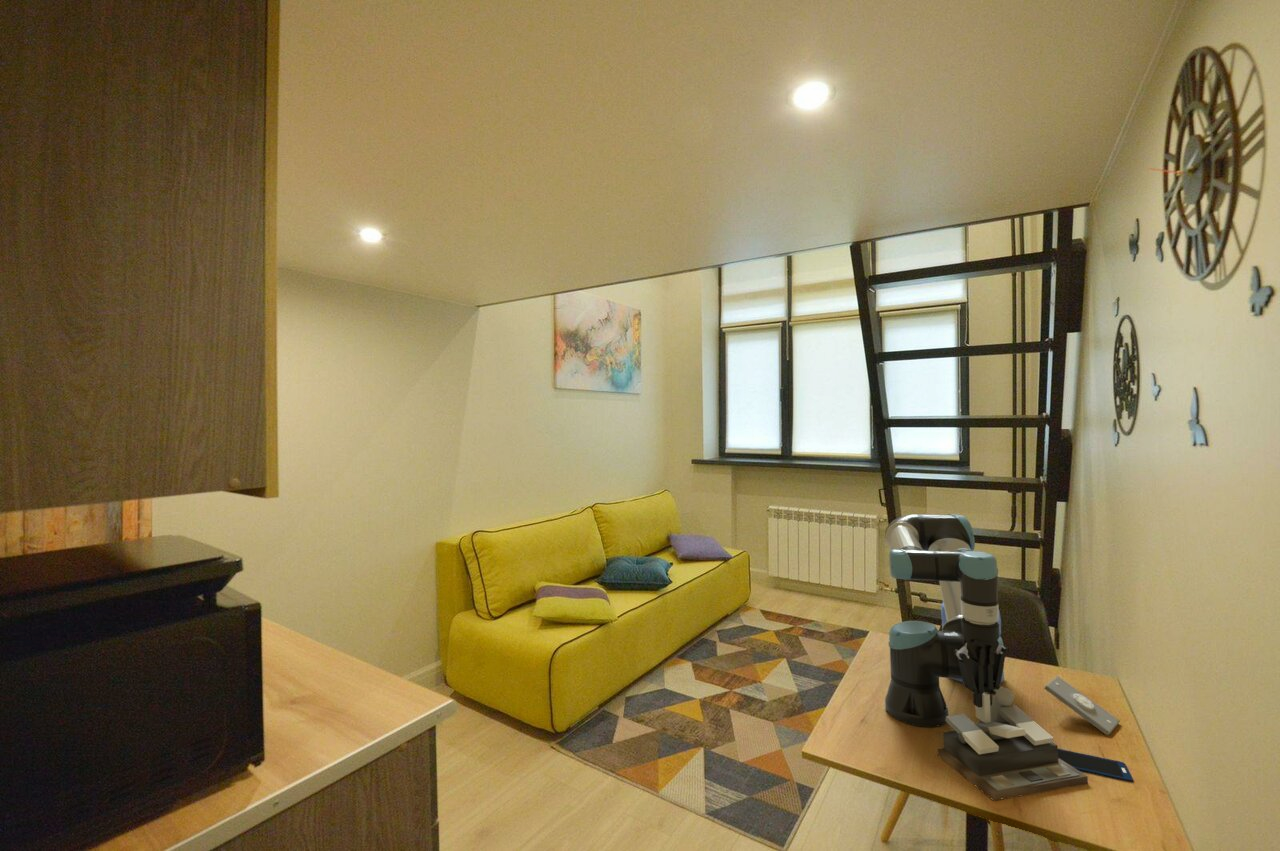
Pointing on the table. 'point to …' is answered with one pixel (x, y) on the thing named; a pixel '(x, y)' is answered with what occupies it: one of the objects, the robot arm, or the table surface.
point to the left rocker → (971, 734)
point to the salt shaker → (1000, 703)
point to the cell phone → (1096, 765)
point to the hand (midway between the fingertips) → (983, 719)
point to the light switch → (1082, 705)
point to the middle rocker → (1000, 730)
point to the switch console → (1011, 766)
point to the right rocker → (1025, 725)
